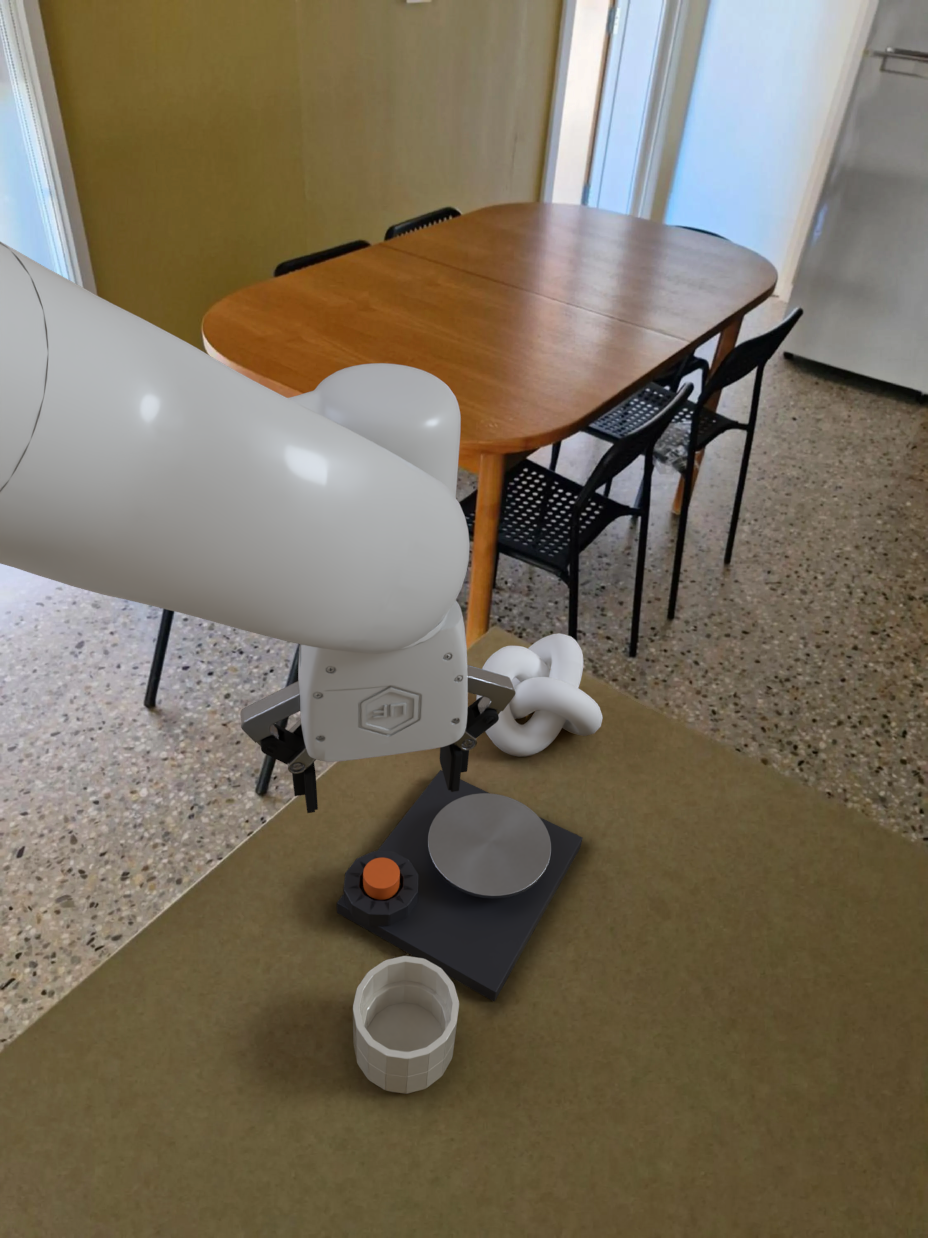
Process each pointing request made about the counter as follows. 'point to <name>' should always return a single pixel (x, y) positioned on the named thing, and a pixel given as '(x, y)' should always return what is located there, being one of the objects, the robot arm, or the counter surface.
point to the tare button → (381, 878)
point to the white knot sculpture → (542, 695)
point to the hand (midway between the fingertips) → (380, 786)
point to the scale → (452, 901)
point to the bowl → (405, 1024)
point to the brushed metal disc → (489, 845)
